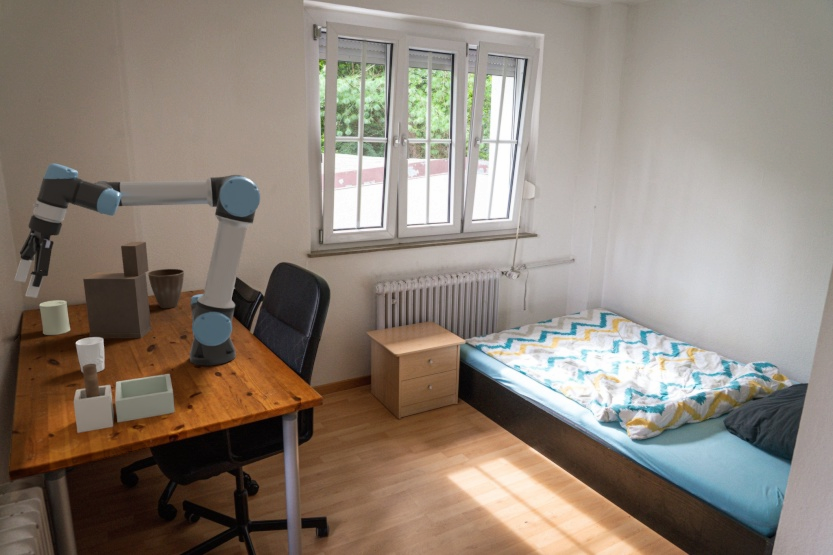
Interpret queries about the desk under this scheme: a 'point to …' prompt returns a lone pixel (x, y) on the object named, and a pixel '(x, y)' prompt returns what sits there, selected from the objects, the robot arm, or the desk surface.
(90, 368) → the dowel
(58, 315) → the can
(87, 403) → the pen pot
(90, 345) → the white cup
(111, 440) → the desk surface
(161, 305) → the plant pot
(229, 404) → the desk surface
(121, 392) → the bin
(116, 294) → the two-tier brown block
